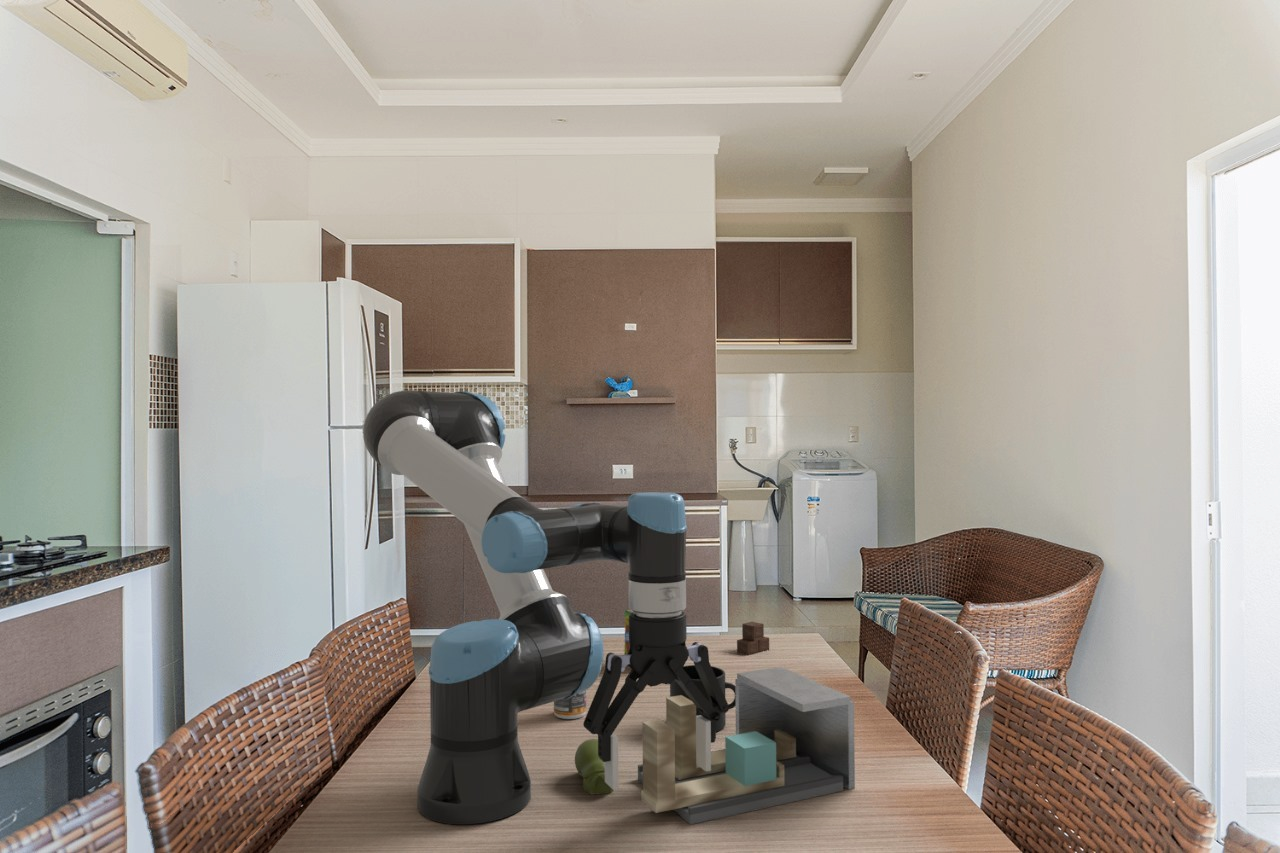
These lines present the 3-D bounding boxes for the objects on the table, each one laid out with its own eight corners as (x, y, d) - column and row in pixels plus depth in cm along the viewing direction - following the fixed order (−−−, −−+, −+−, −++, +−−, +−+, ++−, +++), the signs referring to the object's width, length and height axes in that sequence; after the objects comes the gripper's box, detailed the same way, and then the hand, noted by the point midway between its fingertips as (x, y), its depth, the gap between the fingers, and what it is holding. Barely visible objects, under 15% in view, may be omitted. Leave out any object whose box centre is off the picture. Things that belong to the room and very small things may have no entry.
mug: (746, 732, 143) (746, 678, 143) (674, 736, 141) (674, 681, 141) (733, 714, 152) (733, 663, 152) (666, 717, 151) (665, 665, 151)
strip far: (679, 779, 120) (678, 706, 120) (665, 768, 124) (664, 697, 124) (795, 757, 128) (795, 688, 128) (779, 747, 132) (778, 680, 132)
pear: (609, 731, 128) (623, 767, 118) (608, 764, 129) (621, 803, 119) (572, 734, 127) (582, 770, 117) (571, 767, 127) (581, 806, 118)
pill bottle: (578, 721, 149) (578, 664, 149) (548, 718, 151) (548, 661, 151) (591, 711, 154) (590, 656, 154) (561, 708, 156) (561, 653, 156)
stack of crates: (746, 641, 208) (745, 613, 208) (794, 653, 196) (794, 623, 196) (701, 652, 198) (701, 622, 198) (750, 665, 187) (750, 633, 187)
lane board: (690, 824, 109) (690, 808, 109) (637, 779, 124) (637, 765, 124) (843, 790, 119) (843, 776, 119) (778, 752, 134) (777, 739, 134)
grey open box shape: (803, 801, 116) (802, 704, 116) (735, 757, 132) (735, 672, 132) (857, 789, 120) (856, 695, 120) (785, 748, 136) (784, 665, 136)
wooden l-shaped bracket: (655, 813, 109) (655, 732, 109) (641, 799, 113) (640, 722, 113) (784, 785, 117) (783, 710, 118) (766, 774, 121) (766, 701, 122)
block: (744, 786, 114) (744, 748, 115) (725, 772, 119) (725, 736, 119) (776, 779, 117) (776, 742, 117) (756, 766, 121) (756, 731, 121)
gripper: (578, 627, 104) (579, 805, 103) (753, 608, 114) (755, 770, 114) (558, 615, 110) (559, 782, 110) (725, 598, 121) (726, 751, 121)
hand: (658, 776), depth 112 cm, fingers open, 13 cm apart
